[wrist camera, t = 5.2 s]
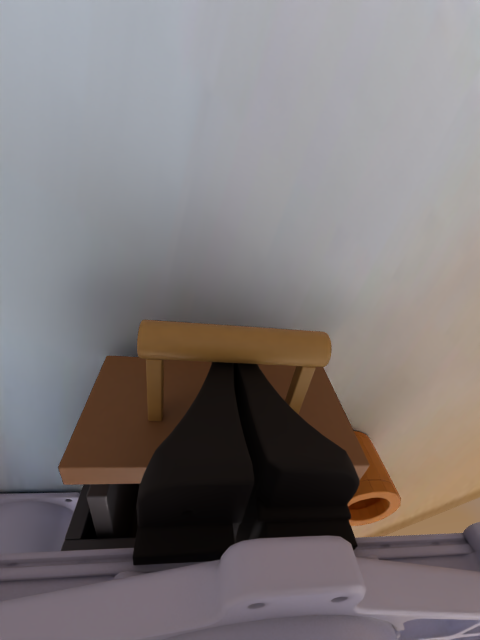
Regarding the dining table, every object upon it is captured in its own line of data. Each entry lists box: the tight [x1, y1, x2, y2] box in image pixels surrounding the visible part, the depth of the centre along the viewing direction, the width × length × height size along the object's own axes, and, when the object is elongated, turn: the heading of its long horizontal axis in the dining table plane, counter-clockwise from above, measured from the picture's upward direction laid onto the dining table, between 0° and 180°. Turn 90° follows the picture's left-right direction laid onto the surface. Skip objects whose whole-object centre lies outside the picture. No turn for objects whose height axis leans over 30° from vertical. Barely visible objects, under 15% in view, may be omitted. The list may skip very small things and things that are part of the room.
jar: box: [348, 431, 401, 526], centre depth 22 cm, size 5×5×5 cm
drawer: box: [58, 320, 370, 539], centre depth 16 cm, size 17×12×6 cm
